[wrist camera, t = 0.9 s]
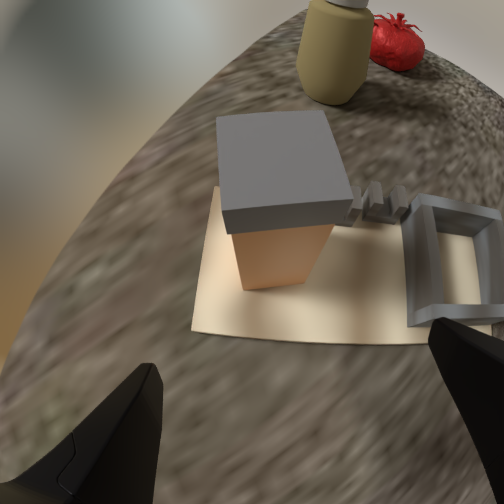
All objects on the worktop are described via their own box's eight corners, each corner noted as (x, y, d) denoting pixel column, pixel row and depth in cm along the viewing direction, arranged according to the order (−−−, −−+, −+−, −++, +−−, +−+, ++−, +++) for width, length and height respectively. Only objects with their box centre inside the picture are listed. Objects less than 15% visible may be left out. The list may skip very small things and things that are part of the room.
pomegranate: (423, 69, 35) (442, 27, 26) (401, 84, 32) (422, 34, 24) (374, 39, 37) (387, -3, 29) (345, 51, 35) (356, 0, 26)
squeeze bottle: (289, 72, 32) (297, -55, 16) (349, 76, 32) (375, -42, 15) (297, 111, 29) (314, -43, 13) (366, 115, 29) (409, -23, 13)
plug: (306, 285, 21) (354, 198, 10) (241, 292, 21) (221, 210, 10) (296, 226, 23) (323, 110, 12) (235, 232, 23) (215, 117, 12)
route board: (471, 222, 24) (498, 199, 20) (485, 339, 20) (520, 330, 15) (216, 192, 26) (208, 156, 21) (194, 331, 21) (176, 322, 17)
